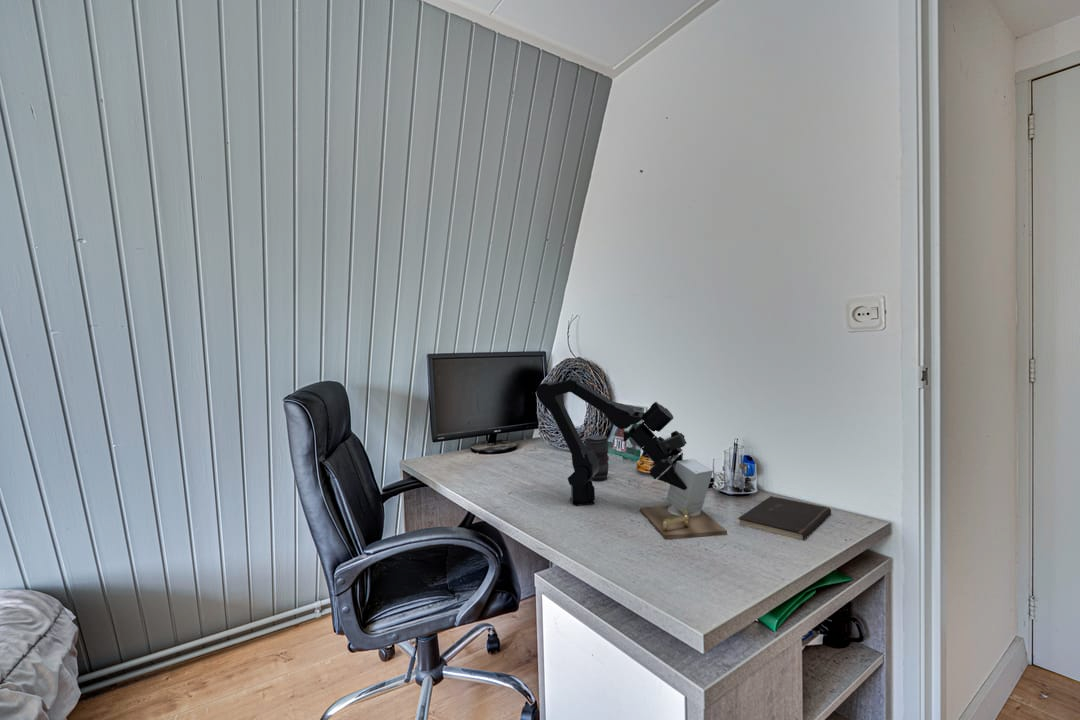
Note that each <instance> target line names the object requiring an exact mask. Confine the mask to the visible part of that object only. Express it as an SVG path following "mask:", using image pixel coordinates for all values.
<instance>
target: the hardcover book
mask: <svg viewBox="0 0 1080 720" xmlns="http://www.w3.org/2000/svg"><path fill="white" fill-rule="evenodd" d="M830 514H831V515H832V510H831V508H830V507H829V506H822V505H817V504H813V503H812V504H811V503H807V502H802V501H797V500H793V499H787V498H782V497H777V496H772V495H770V496H769V497H767V498H766V499H764V500H763V501H761V502H760V503H758V504H757V505H755V506H754V507H753V508H751V509H749V510H748V511H747V512H745V513H743V514H742V515H741V516H739V517H738V518H737V520H739V525H740V526H745V527H749V528H752V529H756V530H761V531H763V532H770V533H773V534H776V535H781V536H785V537H789V538H793V539H797V540H800V539H802V540H801V541H803V540H804V539H805V538H806V537H807V536H808V537H809V536H810V535H811V534H812V533H813V532H814V531H815V530H816V529H817V528H819V526H820V525H822V524H823V522H825V521H826V520H825V519H826V518H827V517H828V516H829V515H830ZM829 517H830V516H829ZM829 517H828V518H829ZM828 518H827V519H828ZM812 531H813V532H812ZM809 534H810V535H809ZM808 537H807V538H808ZM807 538H806V539H807ZM806 539H805V540H806ZM805 540H804V541H805Z"/></svg>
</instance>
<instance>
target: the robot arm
mask: <svg viewBox="0 0 1080 720" xmlns="http://www.w3.org/2000/svg"><path fill="white" fill-rule="evenodd" d="M535 393H536V397H537V398H538V400H539V402H541V404H542V405H543V407H544V408H546V409H547V411H548V412H550V413H551V416H552V417H553V419H554V422H555V423H556V425H557V427H558V429H559V432H560V433H561V435H562V438H563V439H564V442H565V444H566V446H567V448H568V450H569V452H570V454H571V464H572V468H573V471H574V472H573V473H572V474H570V475H569V476H568V477H567V482H568V484H569V485H570V497H569V499H570V502H571V504H572V505H573V506H584V505H585V506H587V505H594V504H595V500H596V495H595V493H596V492H595V486H594V485H593V481H591V480H592V479H593V477H594V475H595V474H596V473H597V472H598V471H599V468H600V466H599V461H600V460H599V459H598V458H597V457H596V454H595V451H594V450H591V451H589V450H588V449H587V448H586V447H585V443H584V442H583V440H582V438H581V436H580V434H579V431H577V428H576V426H575V424H574V423H573V421H572V418H571V416H570V415H569V412H568V410H567V408H566V406H565V399H564V394H567V393H572V394H573V395H575V396H576V397H578V398H579V399H580V400H583V401H584V402H585V403H587V404H588V405H591V406H592V407H594V409H596V410H598V411H599V412H601V413H602V414H604V416H605V417H606V418H607V420H608V421H609V422H610V423H611V424H613V426H615V427H616V428H617V429H619V430H624V431H623V432H622V433H623V438H622V441H623V442H625V443H626V442H627V441H628V440H629V439H631V440H632V441H633V442H634V443H635V444H636V446H637V447H639V448H640V449H641V450H642V455H643V456H647V457H648V458H649V459H650V460H651V461H652V462H653V463H652V466H651V467H650V469H649V474H650V476H651V477H652V478H653V479H654V480H656V479H657V481H661V482H664V483H666V484H669V485H670V484H671V485H673V486H676V487H678V488H680V489H682V490H685V489H687V486H686V485H685V484H684V482H683V481H682V479H681V478H680V477H679V475H678V474H677V473H676V471H675V466H676V461H681V460H684V459H683V458H684V452H683V449H682V448H683V447H685V446H686V445H687V441H686V439H685V435H684V434H683V433H682V432H679V431H678V430H675V431H672V432H671V433H670V437H668V438H666V439H664V438H663V437H662V436H659V437H658V436H657V435H656V434H655V433H654V432H655V431H656V432H661V431H662V430H663V429H664V428H665V427H666V426H667V425H668V424H669V423H670V422H672V421H673V420H674V415H673V414H672V412H670V410H669V409H668V408H666V407H665V406H663V405H662V404H659V402H657V401H655V402H653V403H652V404H651V406H650V407H649V408H648V409H647V410H646V411H645V412H641V411H636V410H635V409H633V408H632V407H630V406H629V405H628V406H627V405H625V404H623V403H621V402H616V401H613V400H611V399H609V398H608V397H606V396H605V395H603V394H602V393H600V392H598V391H597V390H595V389H593V388H592V387H590V386H588V385H587V384H586V383H584V382H582V381H581V380H580V379H579V378H578V377H573V378H570V379H567V380H564V381H561V382H557V381H552V380H551V381H547V382H543V383H540V384H539V385H538V386H537V389H536V392H535ZM640 422H641V423H640ZM638 423H640V424H639V425H637V424H638ZM631 426H632V427H631ZM629 427H631V428H629ZM628 428H629V430H625V429H628Z"/></svg>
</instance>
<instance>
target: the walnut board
mask: <svg viewBox="0 0 1080 720" xmlns="http://www.w3.org/2000/svg"><path fill="white" fill-rule="evenodd" d="M639 511H641V512H640V513H641V514H642V515H643V517H644V518H645V519H646V518H647V519H648V520H647V519H646V520H647V521H648V522H649V523H650V524H651V526H653V528H654V527H655V528H654V529H655V530H656V531H657V532H658V533H659V534H660V535H661V537H662V536H663V537H662V538H663V539H664V540H673V539H674V538H675V539H685V538H687V537H688V538H697V537H698V538H699V537H710V536H711V537H712V536H722V535H723V536H724V535H728V530H727V529H726V528H724V527H723V526H722V525H721V524H720V523H719V522H717V521H716V520H714V519H713V518H712V517H711V516H709V515H708V513H706V512H705V511H703V510H701V511H696V512H692V513H688V517H689V520H688V528H685V527H684V521H682V522H677V523H672V524H667V532H664V531H663V521H664V519H668V518H673V517H679V516H683V513H682V512H681V511H680V510H678V509H677V508H676V507H674V506H673V505H672V504H670V505H661V506H660V505H658V506H656V505H655V506H646V507H645V506H643V507H639Z"/></svg>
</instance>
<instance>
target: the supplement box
mask: <svg viewBox="0 0 1080 720" xmlns="http://www.w3.org/2000/svg"><path fill="white" fill-rule="evenodd" d="M675 471H676V473H677V474H678V475H679V477H680V478H681V479H682V481H683V482H684V484H685V485H686V486H687V489H685V490H682V489H680V488H678V487H676V486H673V485H671V484H669V489H668V491H667V494H666V495H667V496H666V498H665V499H666V502H667V503H669V504H670V505H673V506H674V507H676V508H677V509H678V510H680V511H681V512H682V513H683V508H687V513H692V512H696V511H701V510H702V509H703V507H704V504H705V499H706V497H707V493H708V490H709V486H710V483H711V479H712V475H713V473H714V472H713V471H714V470H713V469H711V468H710V467H708V466H706V465H705V464H704V463H702V462H700V461H698V460H697V459H696V458H687V459H683V460H681V461H676V466H675ZM702 511H703V510H702Z"/></svg>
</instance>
